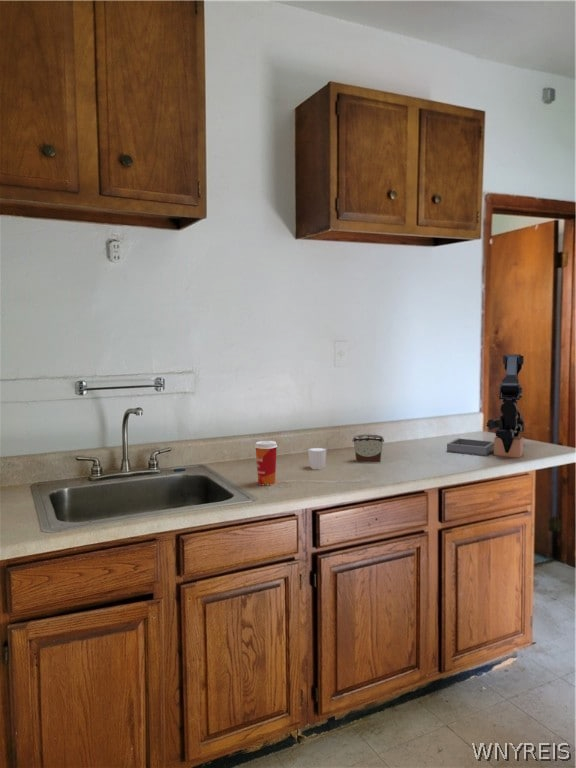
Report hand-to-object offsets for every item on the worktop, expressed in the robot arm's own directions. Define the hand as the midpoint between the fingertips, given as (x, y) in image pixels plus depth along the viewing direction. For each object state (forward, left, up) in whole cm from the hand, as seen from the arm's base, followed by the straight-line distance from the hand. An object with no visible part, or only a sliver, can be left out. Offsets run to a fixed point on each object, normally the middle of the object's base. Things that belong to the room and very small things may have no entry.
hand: (508, 451), depth 232 cm
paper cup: (+86, -58, -2) cm, 104 cm away
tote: (0, 0, -2) cm, 2 cm away
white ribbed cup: (+58, -55, -2) cm, 80 cm away
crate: (0, -15, -2) cm, 15 cm away
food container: (+38, -44, -2) cm, 58 cm away
